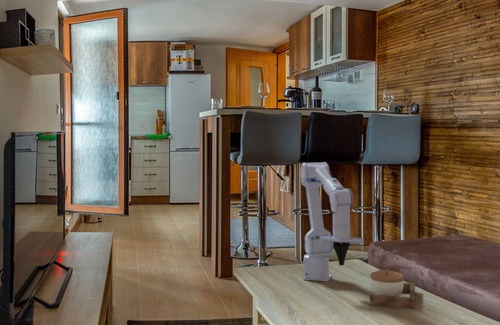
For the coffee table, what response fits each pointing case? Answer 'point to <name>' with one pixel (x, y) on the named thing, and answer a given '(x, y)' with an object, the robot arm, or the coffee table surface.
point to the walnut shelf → (396, 298)
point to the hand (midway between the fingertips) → (341, 264)
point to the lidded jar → (387, 283)
